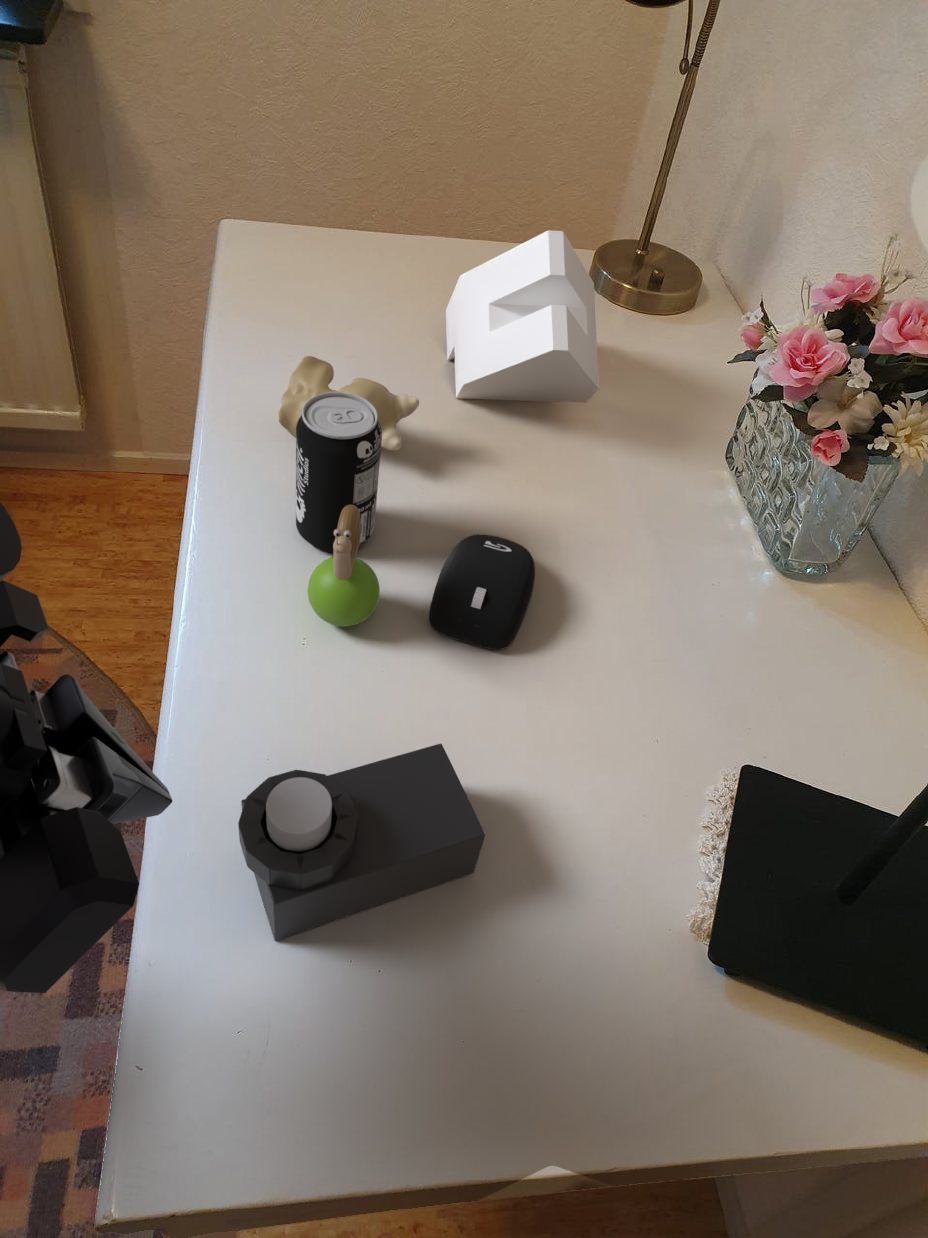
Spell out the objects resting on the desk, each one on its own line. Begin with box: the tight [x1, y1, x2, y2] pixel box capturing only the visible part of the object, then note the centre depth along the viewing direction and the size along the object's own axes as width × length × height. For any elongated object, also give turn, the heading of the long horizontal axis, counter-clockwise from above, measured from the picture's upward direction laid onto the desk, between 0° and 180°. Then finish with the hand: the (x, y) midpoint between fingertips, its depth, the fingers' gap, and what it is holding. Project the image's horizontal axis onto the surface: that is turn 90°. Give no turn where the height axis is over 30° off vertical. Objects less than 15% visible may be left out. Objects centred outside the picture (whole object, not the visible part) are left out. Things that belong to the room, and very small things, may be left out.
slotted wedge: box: [445, 229, 600, 404], centre depth 92 cm, size 14×11×18 cm
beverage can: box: [295, 392, 382, 553], centre depth 75 cm, size 7×7×12 cm
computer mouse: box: [428, 533, 536, 650], centre depth 75 cm, size 8×12×4 cm, turn 164°
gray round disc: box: [266, 777, 332, 852], centre depth 52 cm, size 4×4×2 cm
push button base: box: [237, 743, 486, 942], centre depth 56 cm, size 14×7×7 cm, turn 114°
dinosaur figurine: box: [278, 355, 420, 451], centre depth 85 cm, size 8×7×12 cm
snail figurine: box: [307, 505, 381, 627], centre depth 68 cm, size 5×6×12 cm
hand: (164, 802), depth 46 cm, fingers closed
